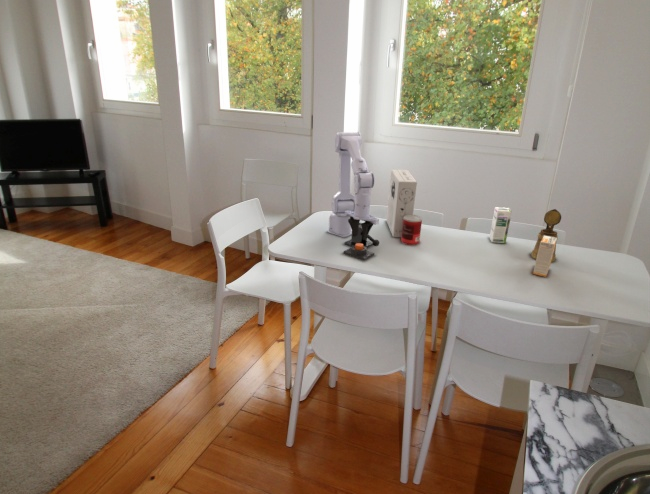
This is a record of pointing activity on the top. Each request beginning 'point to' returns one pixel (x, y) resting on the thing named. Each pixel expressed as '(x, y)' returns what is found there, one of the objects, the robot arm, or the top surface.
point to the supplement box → (544, 255)
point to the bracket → (358, 239)
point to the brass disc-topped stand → (548, 231)
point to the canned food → (411, 229)
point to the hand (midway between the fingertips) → (359, 237)
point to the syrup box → (500, 225)
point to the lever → (371, 239)
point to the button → (359, 246)
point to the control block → (359, 253)
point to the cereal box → (400, 199)
